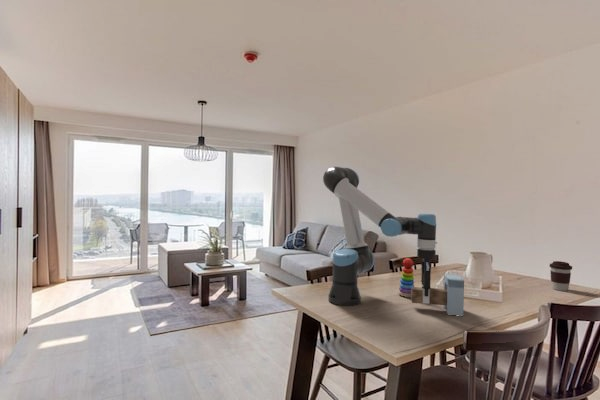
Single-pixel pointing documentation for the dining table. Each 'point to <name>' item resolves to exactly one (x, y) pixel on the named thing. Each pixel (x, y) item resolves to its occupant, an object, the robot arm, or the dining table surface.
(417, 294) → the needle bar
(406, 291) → the stacking toy
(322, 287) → the dining table surface
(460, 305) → the light blue arch block
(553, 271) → the coffee cup
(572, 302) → the dining table surface
